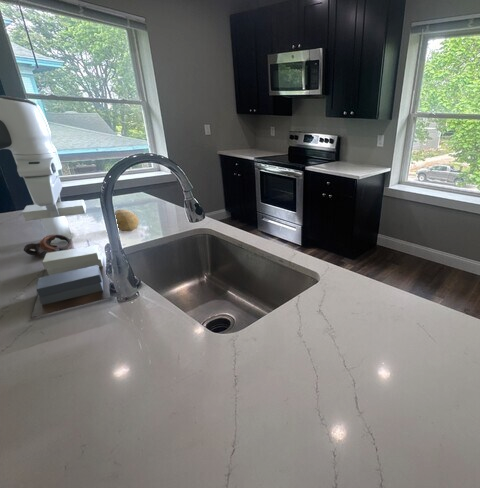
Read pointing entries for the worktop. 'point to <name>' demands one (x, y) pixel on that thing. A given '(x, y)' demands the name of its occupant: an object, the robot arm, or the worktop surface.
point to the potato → (126, 220)
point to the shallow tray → (74, 301)
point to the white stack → (72, 259)
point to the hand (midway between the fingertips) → (57, 212)
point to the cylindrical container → (55, 226)
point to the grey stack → (69, 284)
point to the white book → (63, 207)
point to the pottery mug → (47, 245)
